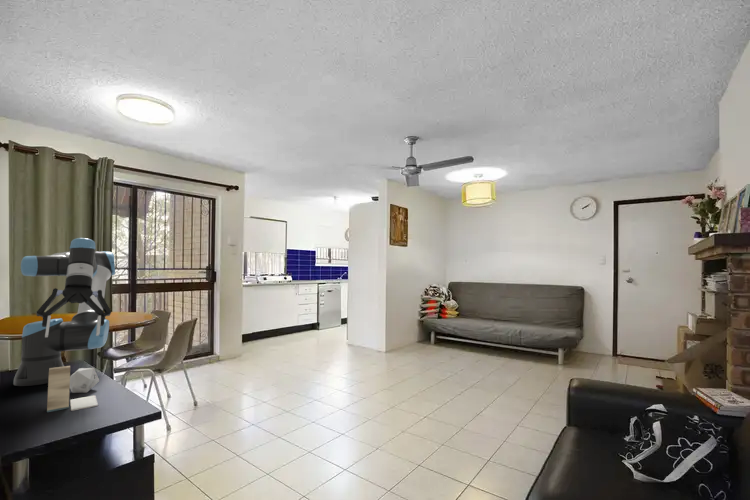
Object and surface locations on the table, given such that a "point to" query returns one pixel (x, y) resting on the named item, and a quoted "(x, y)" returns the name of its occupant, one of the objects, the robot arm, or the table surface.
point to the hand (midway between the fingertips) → (73, 335)
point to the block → (58, 388)
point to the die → (83, 380)
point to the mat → (83, 403)
